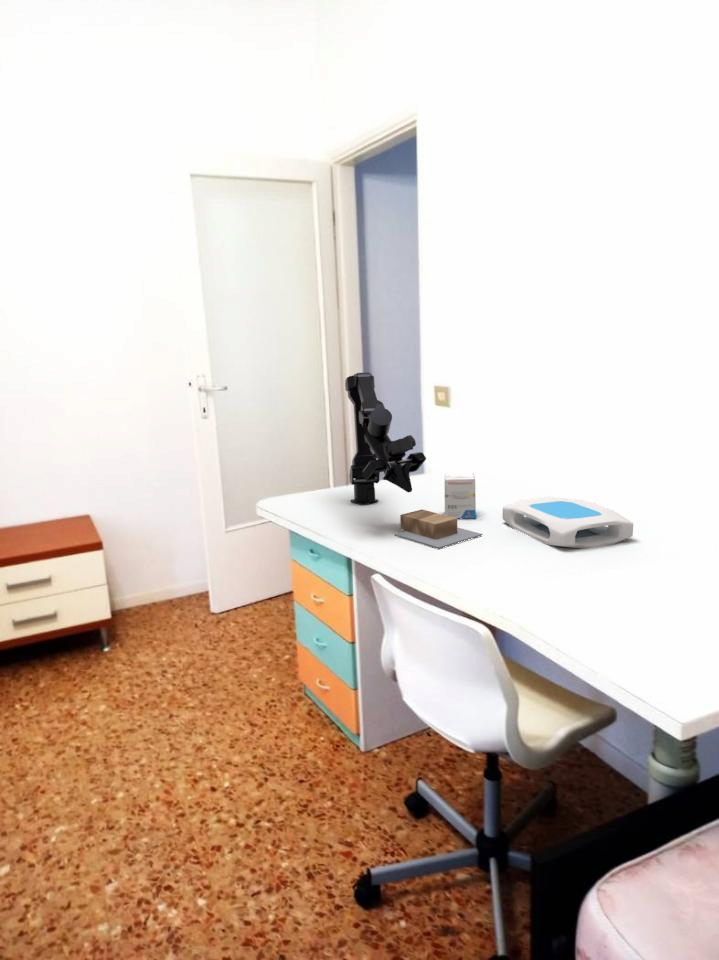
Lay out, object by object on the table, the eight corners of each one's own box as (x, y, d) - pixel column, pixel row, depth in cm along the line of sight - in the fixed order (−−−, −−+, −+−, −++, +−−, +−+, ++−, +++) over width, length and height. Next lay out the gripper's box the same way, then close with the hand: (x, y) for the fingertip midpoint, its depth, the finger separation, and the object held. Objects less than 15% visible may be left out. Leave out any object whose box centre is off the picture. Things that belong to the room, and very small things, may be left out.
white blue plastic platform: (566, 515, 196) (566, 493, 195) (634, 541, 170) (635, 517, 169) (500, 523, 190) (501, 501, 189) (561, 552, 164) (562, 527, 163)
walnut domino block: (400, 514, 184) (435, 524, 174) (422, 509, 188) (457, 518, 179) (400, 529, 184) (435, 539, 175) (422, 523, 189) (457, 533, 179)
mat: (394, 535, 180) (394, 533, 180) (437, 523, 190) (437, 522, 190) (438, 549, 168) (438, 547, 168) (482, 535, 178) (482, 533, 178)
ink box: (474, 511, 202) (474, 472, 200) (475, 519, 194) (476, 478, 192) (444, 511, 203) (444, 472, 201) (444, 519, 195) (444, 478, 193)
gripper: (368, 430, 176) (398, 478, 170) (421, 422, 188) (450, 467, 182) (350, 457, 184) (378, 504, 178) (401, 448, 195) (429, 492, 189)
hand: (410, 491), depth 181 cm, fingers closed
